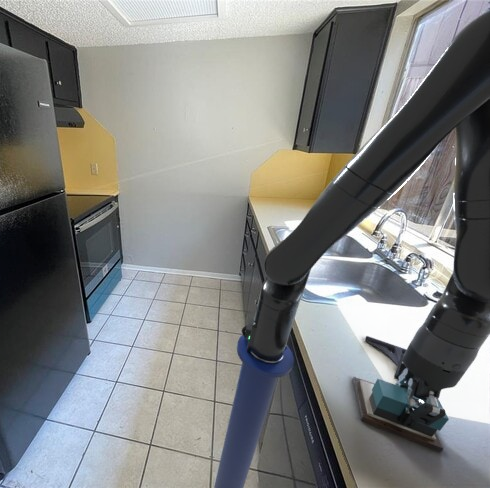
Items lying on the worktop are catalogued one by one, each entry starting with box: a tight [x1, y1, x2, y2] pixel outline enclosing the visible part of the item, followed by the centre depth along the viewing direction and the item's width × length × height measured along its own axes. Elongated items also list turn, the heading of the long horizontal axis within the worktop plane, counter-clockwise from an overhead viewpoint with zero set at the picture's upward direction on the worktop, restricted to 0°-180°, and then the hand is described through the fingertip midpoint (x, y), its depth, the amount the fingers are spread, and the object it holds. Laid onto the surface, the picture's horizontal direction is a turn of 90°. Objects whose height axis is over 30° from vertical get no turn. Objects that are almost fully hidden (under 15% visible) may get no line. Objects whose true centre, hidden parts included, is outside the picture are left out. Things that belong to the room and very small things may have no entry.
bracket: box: [364, 335, 407, 374], centre depth 67 cm, size 14×15×3 cm
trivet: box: [351, 376, 445, 453], centre depth 56 cm, size 13×11×2 cm
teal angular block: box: [369, 378, 450, 437], centre depth 53 cm, size 10×4×6 cm, turn 64°
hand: (400, 413), depth 53 cm, fingers closed on teal angular block, 4 cm apart
